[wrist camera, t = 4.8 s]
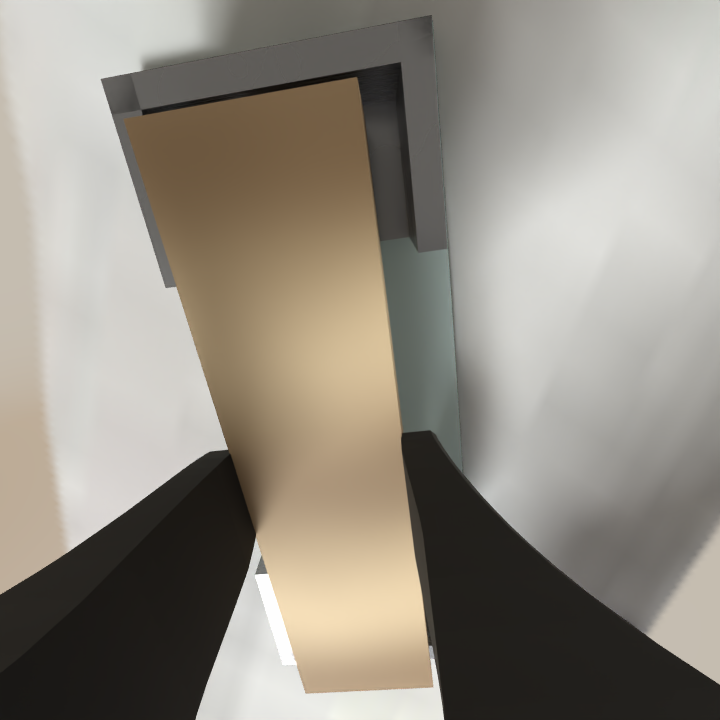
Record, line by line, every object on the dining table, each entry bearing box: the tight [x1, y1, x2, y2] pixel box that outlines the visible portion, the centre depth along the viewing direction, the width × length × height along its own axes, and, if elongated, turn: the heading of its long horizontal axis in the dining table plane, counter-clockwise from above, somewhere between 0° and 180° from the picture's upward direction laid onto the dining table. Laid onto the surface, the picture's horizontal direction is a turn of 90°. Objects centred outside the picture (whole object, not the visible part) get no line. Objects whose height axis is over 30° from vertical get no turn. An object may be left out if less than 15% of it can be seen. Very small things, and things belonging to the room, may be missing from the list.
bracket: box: [101, 15, 447, 288], centre depth 10 cm, size 4×6×4 cm, turn 98°
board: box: [380, 21, 463, 473], centre depth 15 cm, size 19×8×1 cm, turn 8°
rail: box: [123, 77, 433, 693], centre depth 11 cm, size 14×4×4 cm, turn 8°
